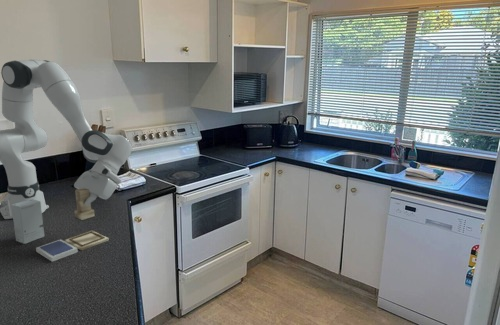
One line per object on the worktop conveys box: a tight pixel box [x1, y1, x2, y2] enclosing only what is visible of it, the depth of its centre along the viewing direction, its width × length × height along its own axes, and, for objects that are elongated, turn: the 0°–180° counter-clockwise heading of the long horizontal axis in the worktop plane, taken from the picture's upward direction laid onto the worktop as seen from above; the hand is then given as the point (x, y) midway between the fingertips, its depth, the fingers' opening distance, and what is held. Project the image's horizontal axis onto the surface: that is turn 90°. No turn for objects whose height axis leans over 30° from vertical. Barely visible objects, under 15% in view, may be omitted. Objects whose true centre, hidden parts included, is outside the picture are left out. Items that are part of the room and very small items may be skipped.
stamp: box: [74, 188, 96, 222], centre depth 139 cm, size 5×5×11 cm
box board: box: [64, 230, 110, 251], centre depth 142 cm, size 12×11×1 cm
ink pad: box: [35, 238, 79, 262], centre depth 133 cm, size 12×9×2 cm
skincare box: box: [11, 199, 45, 245], centre depth 142 cm, size 8×6×15 cm
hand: (81, 203), depth 138 cm, fingers closed on stamp, 3 cm apart
